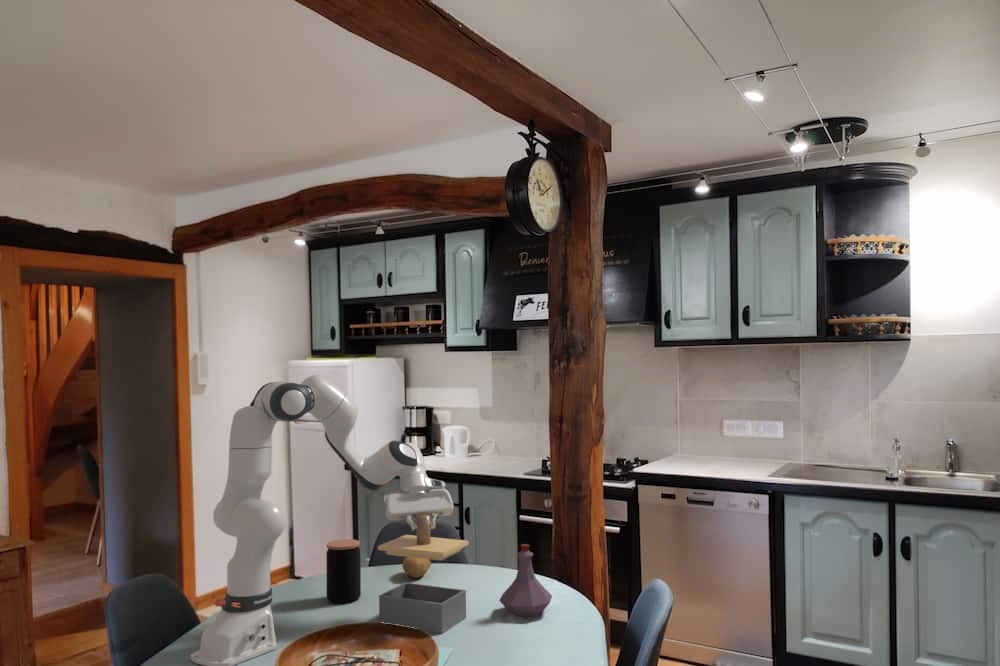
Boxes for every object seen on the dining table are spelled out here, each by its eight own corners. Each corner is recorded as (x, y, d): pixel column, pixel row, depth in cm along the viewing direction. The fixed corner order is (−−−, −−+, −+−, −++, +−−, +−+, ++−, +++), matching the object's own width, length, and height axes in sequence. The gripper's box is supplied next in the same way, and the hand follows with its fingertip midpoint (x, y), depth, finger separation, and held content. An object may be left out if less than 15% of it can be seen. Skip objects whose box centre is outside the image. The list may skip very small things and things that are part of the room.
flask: (560, 619, 210) (559, 549, 211) (505, 624, 207) (504, 553, 208) (545, 601, 226) (543, 537, 227) (493, 606, 223) (492, 540, 224)
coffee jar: (364, 594, 236) (364, 539, 237) (355, 605, 226) (354, 547, 227) (333, 594, 238) (332, 538, 238) (321, 604, 227) (321, 546, 228)
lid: (443, 562, 201) (442, 523, 202) (377, 555, 211) (377, 518, 211) (468, 549, 215) (468, 513, 215) (406, 543, 224) (405, 508, 225)
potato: (399, 582, 249) (399, 559, 250) (406, 571, 263) (405, 549, 264) (427, 582, 249) (427, 559, 250) (432, 571, 263) (432, 549, 264)
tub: (442, 633, 200) (442, 604, 200) (379, 623, 209) (379, 595, 209) (466, 617, 213) (465, 590, 213) (405, 608, 222) (405, 582, 222)
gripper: (383, 486, 217) (390, 525, 207) (449, 481, 224) (458, 519, 214) (381, 498, 221) (387, 538, 211) (445, 493, 227) (454, 531, 218)
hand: (423, 528), depth 212 cm, fingers closed on lid, 4 cm apart
